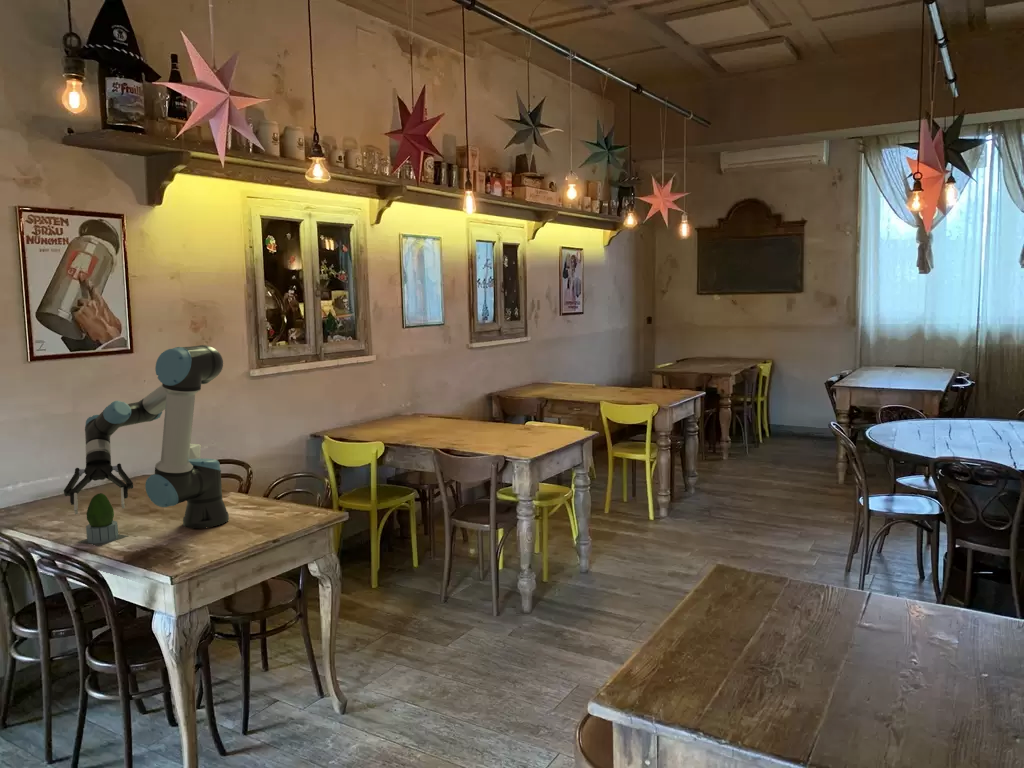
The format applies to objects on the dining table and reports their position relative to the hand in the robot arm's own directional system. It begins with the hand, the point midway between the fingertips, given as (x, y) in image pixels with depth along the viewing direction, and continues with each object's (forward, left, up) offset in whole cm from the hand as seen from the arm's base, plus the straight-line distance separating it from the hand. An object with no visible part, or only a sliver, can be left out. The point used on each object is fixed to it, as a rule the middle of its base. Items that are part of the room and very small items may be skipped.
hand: (99, 509), depth 244 cm
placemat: (+2, -1, -11) cm, 11 cm away
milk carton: (+29, -63, -11) cm, 71 cm away
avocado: (+2, -1, -7) cm, 8 cm away
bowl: (+2, -1, -11) cm, 11 cm away
